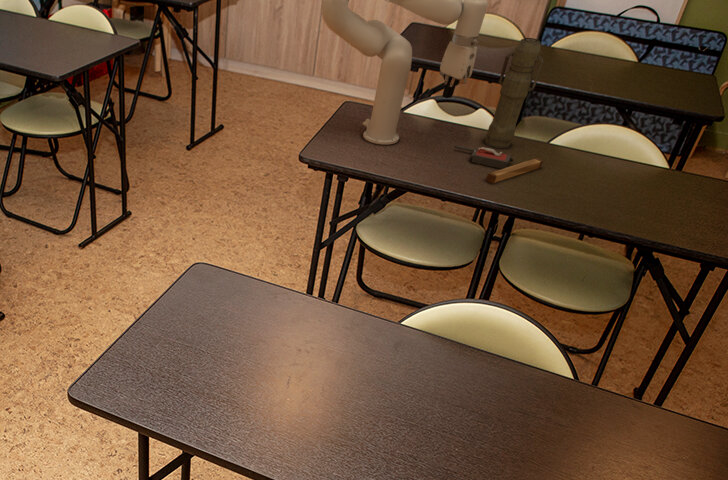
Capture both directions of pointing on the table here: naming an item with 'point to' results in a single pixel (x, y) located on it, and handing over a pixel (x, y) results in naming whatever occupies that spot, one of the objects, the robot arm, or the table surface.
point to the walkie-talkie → (488, 157)
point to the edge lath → (514, 170)
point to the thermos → (513, 92)
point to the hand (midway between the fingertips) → (446, 96)
